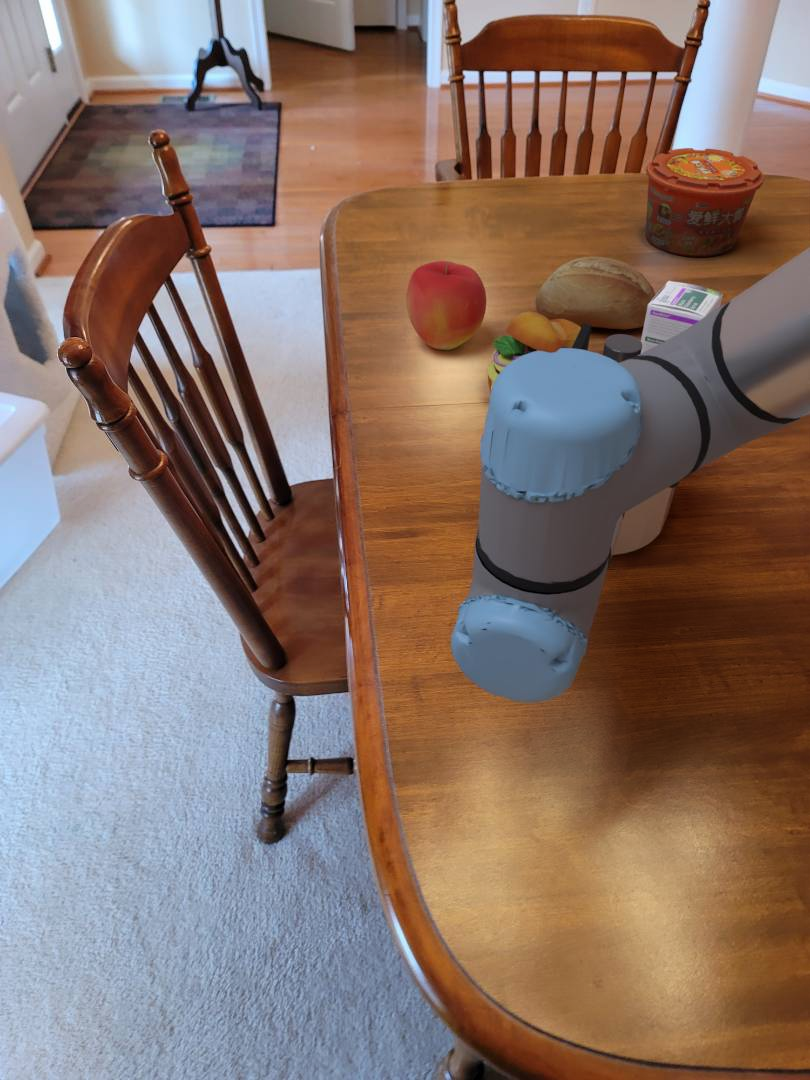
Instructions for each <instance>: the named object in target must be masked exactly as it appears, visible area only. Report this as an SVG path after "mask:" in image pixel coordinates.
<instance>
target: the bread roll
mask: <svg viewBox="0 0 810 1080" xmlns="http://www.w3.org/2000/svg"><path fill="white" fill-rule="evenodd" d="M656 294H657V293H656V292H655V289H654V287H653V286H652V284H651V283H650V282H649V280H648V279H646V277H645V276H644V274H643V273H641V272H640V271H638V270H637V269H636V268H634V267H633V266H632V265H630V264H628V263H627V262H625V261H623V260H622V261H621V260H618V259H616V258H611V257H602V256H584V257H579V258H578V257H577V258H575V259H572V260H570V261H568V262H566V263H564V264H562V265H560V266H559V267H558V268H557V269H556V270H554V271H553V272H552V274H550V276H549V277H548V279H546V281H545V282H544V283H543V284H542V286H541V287H540V289H539V290H538V292H537V293H536V297H535V308H536V313H539V314H541V315H543V316H545V317H546V318H548V319H549V320H553V319H565V320H568V321H571V322H573V323H575V324H577V325H579V326H580V327H582V325H583V323H585V324H590V325H592V327H591V328H603V329H614V330H615V329H616V330H632V329H633V330H634V329H637V328H638V329H639V328H642V327H644V323H645V318H646V313H647V307H648V304H649V303H650V301H651V300H652V299H653V298H654V296H655V295H656Z"/></svg>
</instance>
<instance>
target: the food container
mask: <svg viewBox="0 0 810 1080" xmlns="http://www.w3.org/2000/svg"><path fill="white" fill-rule="evenodd" d="M644 176H647V177H648V185H647V186H648V188H647V203H646V206H647V207H646V217H645V218H646V219H645V235H644V236H645V239H646V241H647V242H648V243H649V245H651V246H652V247H654V248H655V249H657V250H660V251H662V252H665V253H668V254H671V255H676V256H682V257H689V258H707V257H715V256H719V255H723V254H725V253H727V252H729V251H731V250H732V248H733V247H734V246H735V244H736V241H737V239H738V236H739V234H740V232H741V230H742V227H743V224H744V222H745V220H746V217H747V214H748V212H749V209H750V207H751V204H752V202H753V199H754V197H755V195H756V192H757V190H759V189H760V188H761V187H762V186H763V184H764V182H765V175H764V173H763V171H761V169H759V168H758V164H757V163H756V162H755V161H754V160H752V159H750V158H748V157H746V156H744V155H740V156H736V155H734V153H733V152H731V151H727V150H722V149H717V148H705V149H694V148H692V147H684V148H683V147H682V148H677V149H676V148H675V149H671V150H668V151H667V153H659V154H658V155H656V156H655V157H654V159H652V160H650V161H649V163H647V166H645V174H644Z"/></svg>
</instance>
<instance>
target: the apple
mask: <svg viewBox="0 0 810 1080" xmlns="http://www.w3.org/2000/svg"><path fill="white" fill-rule="evenodd" d="M405 297H406V300H405V302H406V309H407V310H406V311H407V314H408V315H407V316H408V318H409V321H410V323H411V326H412V328H413V330H414V331H415V332H416V334H417V336H418V337H419V338H420V339H421V340H422V341H423V342H424V343H425V344H427V346H429V347H431V348H433V349H436V350H440V351H450V350H453V349H456V348H458V347H460V346H461V345H462V344H464V343H466V342H468V340H469V339H471V338H472V337H473V336H474V335H475V334H476V333H477V332H478V330H479V329H480V327H481V326H482V324H483V321H484V319H485V315H486V310H487V293H486V287H485V285H484V283H483V281H482V278H481V276H480V275H479V273H477V271H475V269H473V268H472V267H470V266H467V265H465V264H461V263H456V262H454V261H453V262H452V261H448V260H436V261H431V262H427V263H424V264H423V265H420V266H419V267H417V268H415V270H414V271H413V272H412V274H411V276H410V278H409V281H408V285H407V289H406V296H405Z"/></svg>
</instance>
